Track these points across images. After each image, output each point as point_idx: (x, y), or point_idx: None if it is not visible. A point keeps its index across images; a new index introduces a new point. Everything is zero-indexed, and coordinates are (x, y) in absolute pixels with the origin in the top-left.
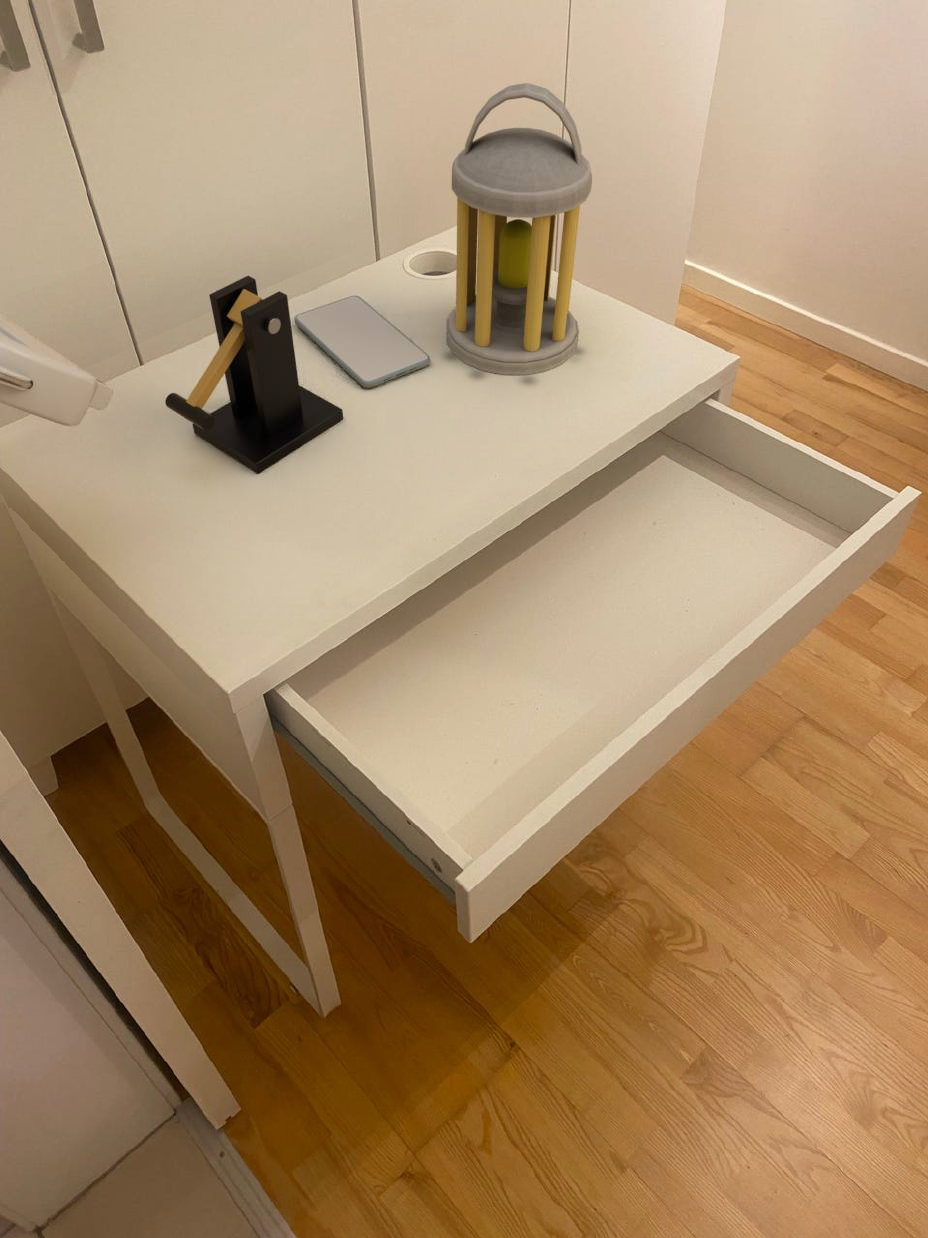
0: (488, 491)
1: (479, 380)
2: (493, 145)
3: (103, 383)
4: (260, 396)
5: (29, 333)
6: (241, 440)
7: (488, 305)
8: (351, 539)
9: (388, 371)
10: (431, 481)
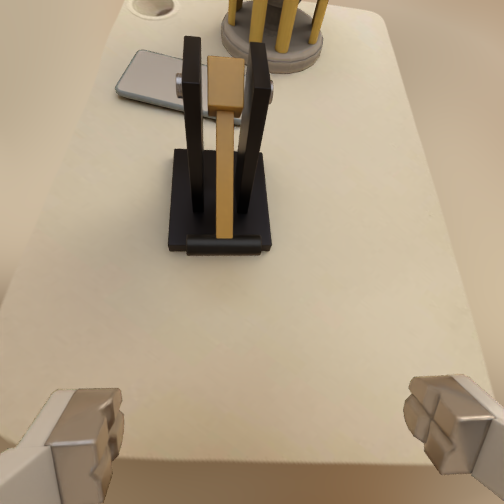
0: (405, 159)
1: (295, 81)
2: None
3: (455, 383)
4: (251, 182)
5: (83, 397)
6: None
7: (296, 10)
8: (395, 255)
9: None
10: (371, 173)
